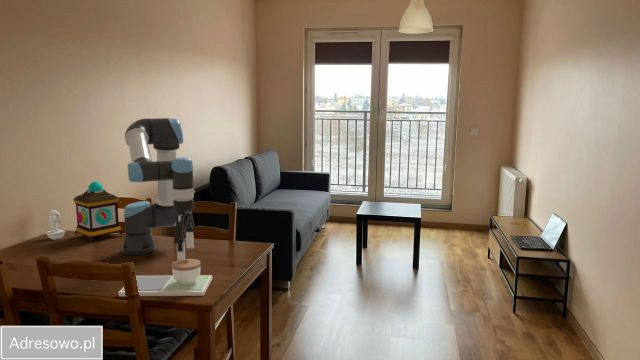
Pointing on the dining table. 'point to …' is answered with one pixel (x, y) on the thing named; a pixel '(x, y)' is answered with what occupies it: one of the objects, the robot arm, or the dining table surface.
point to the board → (169, 286)
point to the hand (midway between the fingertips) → (185, 253)
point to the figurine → (55, 226)
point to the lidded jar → (186, 271)
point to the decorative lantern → (96, 212)
